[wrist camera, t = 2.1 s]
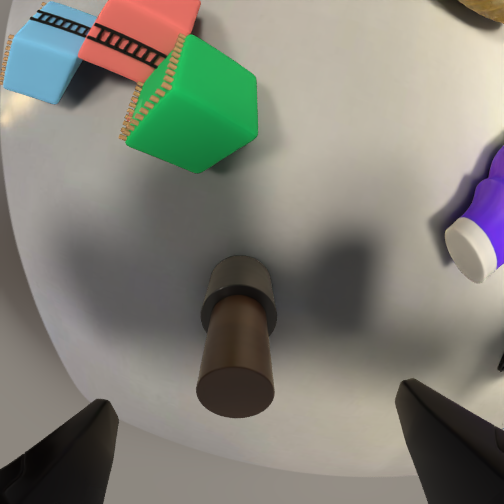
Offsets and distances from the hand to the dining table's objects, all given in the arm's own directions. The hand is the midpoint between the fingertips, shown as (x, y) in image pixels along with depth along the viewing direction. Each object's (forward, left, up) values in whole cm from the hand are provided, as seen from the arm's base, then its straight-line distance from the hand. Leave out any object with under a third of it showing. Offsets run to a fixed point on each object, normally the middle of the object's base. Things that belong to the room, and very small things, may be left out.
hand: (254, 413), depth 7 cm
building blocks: (+12, +6, -11) cm, 17 cm away
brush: (-1, +1, -10) cm, 10 cm away
